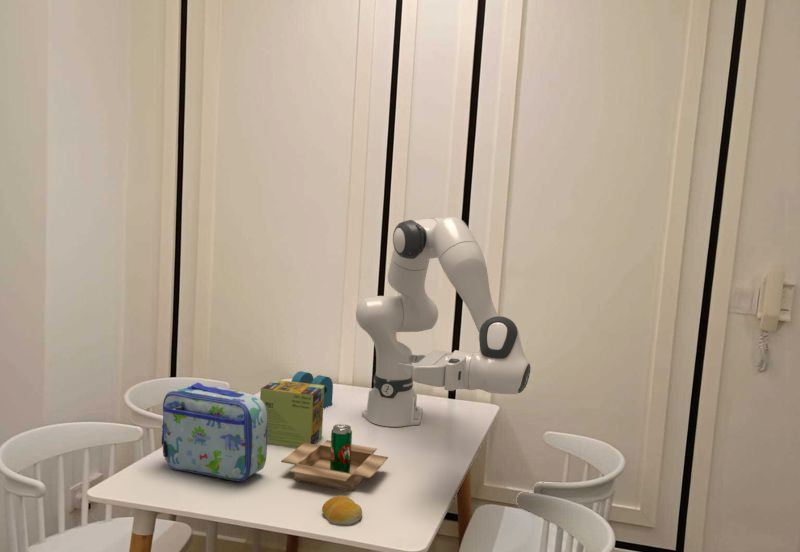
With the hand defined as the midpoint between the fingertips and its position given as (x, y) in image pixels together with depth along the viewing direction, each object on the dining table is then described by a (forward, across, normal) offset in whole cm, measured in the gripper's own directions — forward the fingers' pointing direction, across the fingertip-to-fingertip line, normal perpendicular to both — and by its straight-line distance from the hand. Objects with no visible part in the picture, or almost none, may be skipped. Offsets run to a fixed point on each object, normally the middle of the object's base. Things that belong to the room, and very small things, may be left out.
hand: (403, 362), depth 175 cm
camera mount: (+44, -42, +30) cm, 68 cm away
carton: (+15, +3, +30) cm, 34 cm away
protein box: (+35, -14, +30) cm, 48 cm away
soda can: (+14, +3, +30) cm, 33 cm away
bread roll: (+5, +24, +30) cm, 39 cm away
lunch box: (+43, +14, +30) cm, 54 cm away
